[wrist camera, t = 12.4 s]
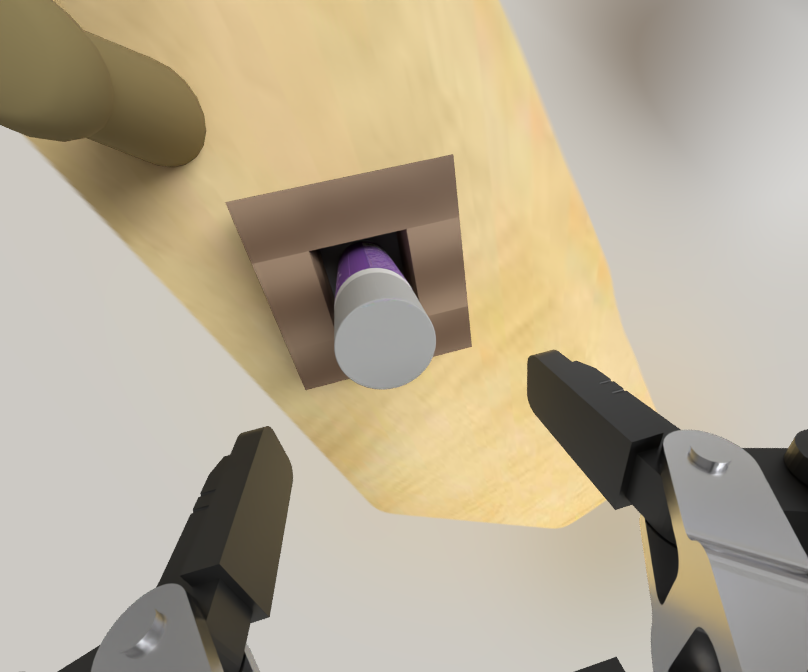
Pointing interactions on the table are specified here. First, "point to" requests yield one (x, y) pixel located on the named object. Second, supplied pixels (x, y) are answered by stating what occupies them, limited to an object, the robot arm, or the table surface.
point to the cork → (91, 88)
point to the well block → (344, 225)
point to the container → (378, 320)
